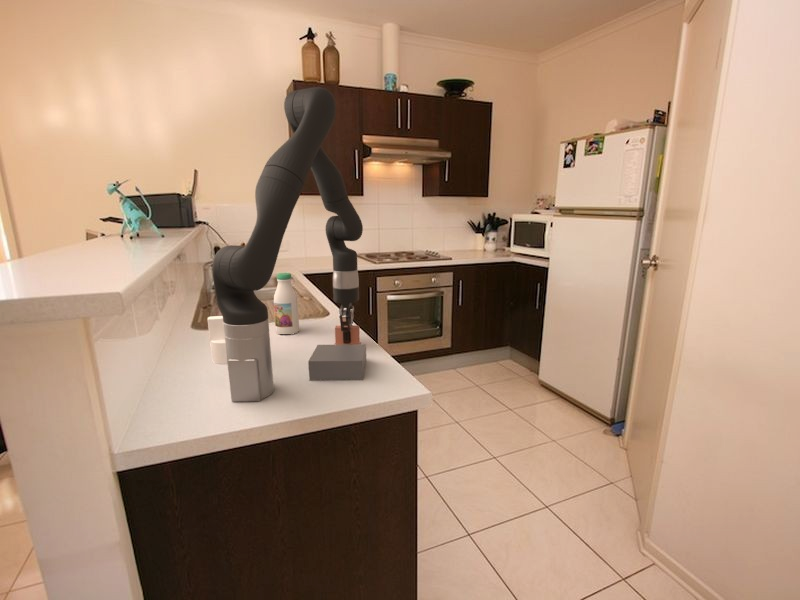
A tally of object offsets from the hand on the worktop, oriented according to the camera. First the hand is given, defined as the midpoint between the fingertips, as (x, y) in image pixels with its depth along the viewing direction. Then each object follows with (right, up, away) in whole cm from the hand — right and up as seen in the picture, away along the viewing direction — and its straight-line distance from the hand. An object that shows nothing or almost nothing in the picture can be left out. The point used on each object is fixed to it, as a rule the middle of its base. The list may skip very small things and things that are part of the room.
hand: (347, 341), depth 123 cm
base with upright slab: (-32, -4, -9) cm, 33 cm away
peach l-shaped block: (0, -3, -9) cm, 9 cm away
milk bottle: (-22, +1, +15) cm, 27 cm away
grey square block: (0, -6, -18) cm, 19 cm away
